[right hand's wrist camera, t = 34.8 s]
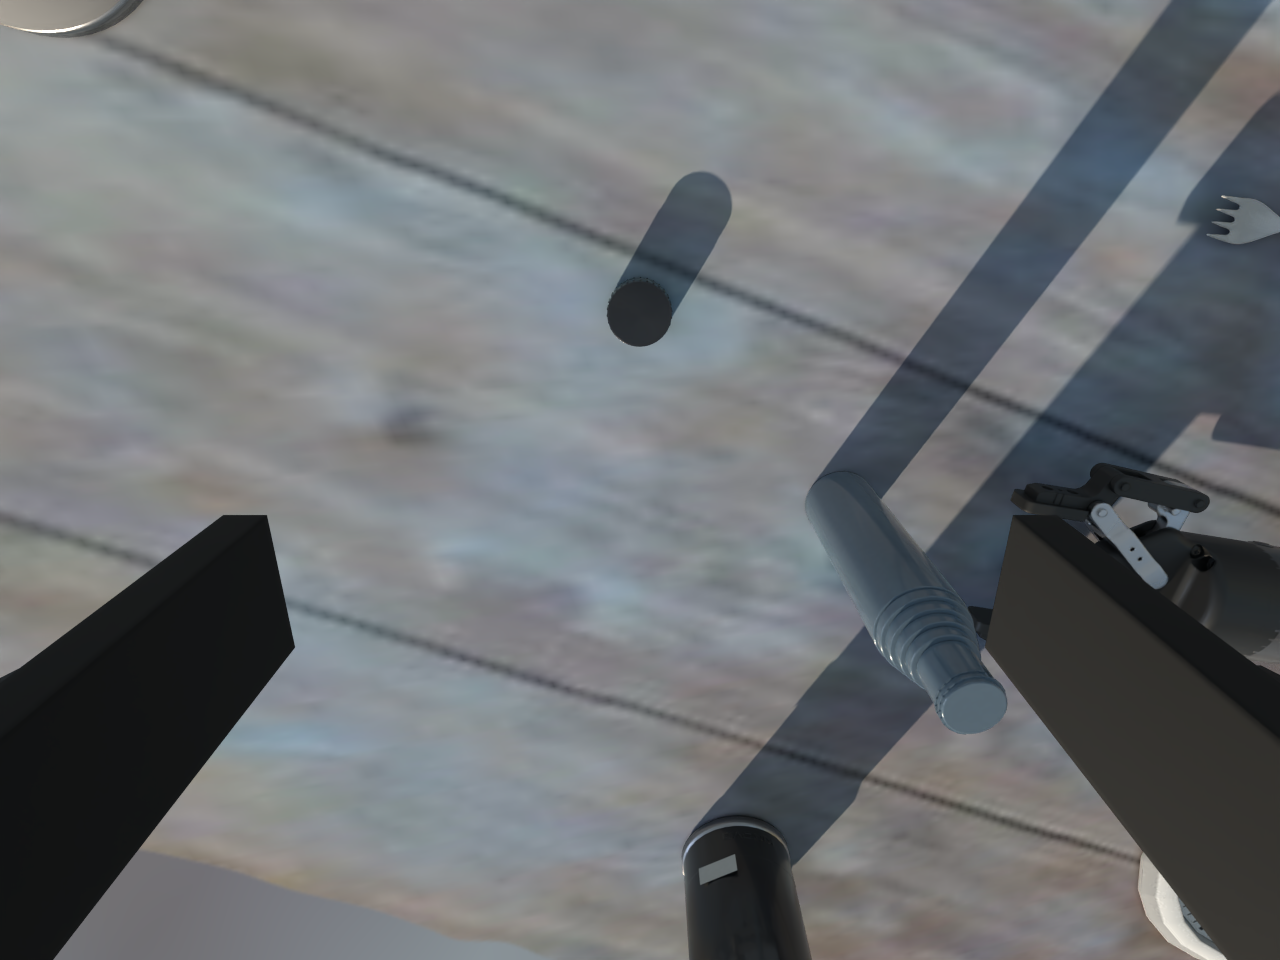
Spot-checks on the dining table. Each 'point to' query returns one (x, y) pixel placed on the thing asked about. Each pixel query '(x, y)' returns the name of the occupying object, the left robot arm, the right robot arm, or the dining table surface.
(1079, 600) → the right robot arm
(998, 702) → the bottle
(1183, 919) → the wall clock
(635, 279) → the cap
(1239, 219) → the fork
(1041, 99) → the dining table surface
